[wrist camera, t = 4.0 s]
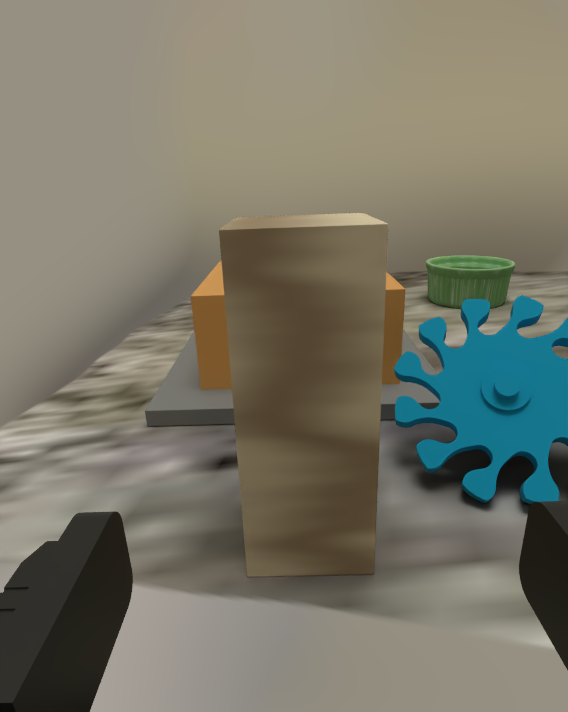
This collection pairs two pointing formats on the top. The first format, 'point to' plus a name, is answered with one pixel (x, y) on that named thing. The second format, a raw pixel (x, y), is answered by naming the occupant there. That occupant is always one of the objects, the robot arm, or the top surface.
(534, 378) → the gear
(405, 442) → the top surface
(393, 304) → the orange square frame
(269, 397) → the tall wooden block
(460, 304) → the ramekin
